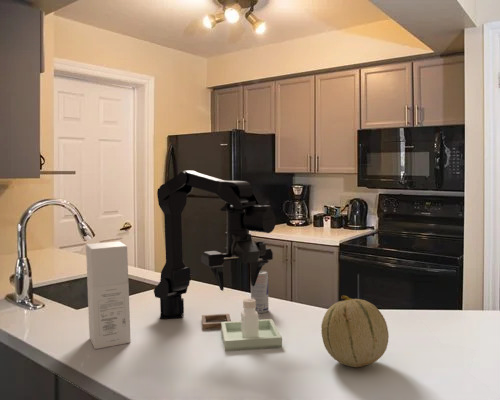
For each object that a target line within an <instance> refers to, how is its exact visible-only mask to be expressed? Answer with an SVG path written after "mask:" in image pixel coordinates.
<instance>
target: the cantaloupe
mask: <svg viewBox="0 0 500 400" xmlns="http://www.w3.org/2000/svg"><path fill="white" fill-rule="evenodd" d="M340 298H341V300H339V301H337V302H335V303H333V304H332V305H331V306H329V308H328V309H327V310H326V311H325V313H324V316H323V318H322V321H321V326H320V327H321V329H320V330H321V337H322V342H323V346H324V348H325V350H326V352H327V353H328V354H329V355H330V357H331V358H333V359H334V360H335V361H337V362H338V363H340V364H342V365H344V366H348V367H351V368H361V367H365V366H367V365H370V364H373V363H375V362H376V361H378V360H380V359H381V358H382V357H383V356H384V354H385V352H386V350H387V348H388V345H389V337H390V336H389V330H388V328H389V327H388V325H387V321H386V319H385V317H384V315H383V314H382V312H381V311H380V310H379V309H378V307H376V306H375V304H373V303H371V302H369V301H367V300H365V299H360V298H351V297H349V296H347V295H345V294H344V295H341V297H340Z"/></svg>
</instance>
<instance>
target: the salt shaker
mask: <svg viewBox="0 0 500 400" xmlns="http://www.w3.org/2000/svg"><path fill="white" fill-rule="evenodd" d="M242 301H243V302H242V303H243V311H241V313H240V317H241V320H240V321H241V330H242V335H243V337H244V338H256V337H258V336H259V320H260V319H259V313H257V311H256V309H255V308H256V300H255V299H251V298H245V299H244V300H242Z"/></svg>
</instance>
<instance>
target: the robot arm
mask: <svg viewBox="0 0 500 400" xmlns="http://www.w3.org/2000/svg"><path fill="white" fill-rule="evenodd" d="M194 188H195V189H199V190H201V191H205V192H208V193H210V194H214V195H216V196H217V198H218V199H220V200H221V201H222V202H225V204H224V205H223V206H222V207H221V208H220V209H219V211H220V212H223V213H224V212H225V213H226V232H224V237H226V247H224V252H225V253H222V252H219V251H217V250H210V251H203V252H202V254H201V255H200V263H202V264H203V265H205V266H207V267H208V268H210V270H211V271H212V273H213V274H214V275H213V276H214V277H215V280H216V282H217V285H218V287H219V289H220V290H221V291H223V292H224V288H225V285H224V284H225V283H224V282H225V280H224V270H225V267H226V266H225V265H223V264H224V262H226V261H235V260H240V262H241V263H243V264H248V263H249V274H250V275H249V276H250V286H251V285H252V286H255V283H256V280H257V278H258V275H259V272H260V271H262V268H263V266H265V265H266V264H269V263H270V261H271V260H273V259H274V251H273V250H272V249H271V248H270V247H267V246H266V245H267V244H266V242H265V241H263V240H261V241H256V242H253V240H252V239H253V237H252V234H251V233H249V232H257V233H264V234H271V233H272V232H273V231H274V230H275V228H276V225H277V224H276V223H277V218H276V216H275V213H274V212H273V210H272V209H271V208H272V205H261V203H260V201H259V200H258V198H257V196H256V194H255V192H254V191H253V189H252V188H253V187H252V185H251V183H250V182H248V181H247V180H226V179H221V178H217V177H214V176H210V175H207V174H205V173H200V172H197V171H195V170H181V172H179V173H178V174H177V175H176V176H174V177H172V178H171V179H168V180H166V182H164V183H163V184H161V185H160V186H159V188H157V190H156V196H157V201H158V206H159V208H160V210H161V212H162V213H163V216H164V217H163V218H164V238H165V239H164V241H165V242H164V244H165V245H164V246H165V263H164V266H163V267H162V270H161V271H160V279H159V283H158V284H157V285H156V286H155V288H154V289H153V294H154V298H157V299H159V305H160V306H159V307H160V308H159V309H160V315H159V319H161V320H162V319H163V320H164V319H180V318H183V315H184V314H185V305H184V304H185V303H184V302H185V299H184V298H183V296H182V295H183V294H186V293H187V291H188V288H189V286H190V281H192V278H191V267H189V266H188V267H187V265H186V264H185V263H184V259H183V258H184V257H183V253H184V252H183V227H182V226H183V225H182V224H183V222H182V213H183V211H184V209H185V207H186V206H187V205H186V204H187V199H188V198H187V196H189V194H190V193H192V192H193V190H194Z"/></svg>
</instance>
